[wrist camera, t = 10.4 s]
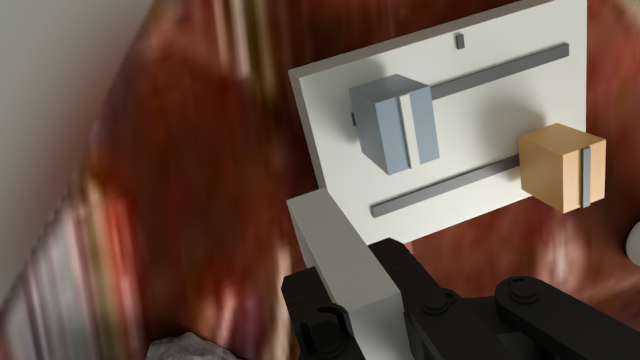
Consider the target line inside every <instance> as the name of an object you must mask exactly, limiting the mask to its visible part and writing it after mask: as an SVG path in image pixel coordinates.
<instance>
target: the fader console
mask: <svg viewBox="0 0 640 360" xmlns="http://www.w3.org/2000/svg"><path fill="white" fill-rule="evenodd" d="M586 42H587V0H521V1H517V2H514V3H511V4H507V5H504V6H501V7H497V8H494V9H491V10H487V11H484V12H481V13H477V14H474V15H471V16H467V17H464V18H461V19H457V20H454V21H451V22H447V23H444V24H441V25H437V26H434V27H431V28H427V29H424V30H421V31H417V32H414V33H411V34H407V35H404V36H401V37H397V38H394V39H391V40H387V41H384V42H381V43H377V44H374V45H371V46H367V47H364V48H361V49H357V50H354V51H351V52H347V53H344V54H341V55H337V56H334V57H331V58H327V59H324V60H320V61H317V62H314V63H310V64H307V65H304V66H300V67H297V68H294V69H290V70H288V74H289V78H290V81H291V85H292V89H293V93H294V96H295V100H296V104H297V108H298V111H299V115H300V119H301V123H302V127H303V130H304V134H305V138H306V142H307V145H308V149H309V153H310V157H311V160H312V164H313V168H314V172H315V175H316V179H317V183H318V187H319V189H321V188H324V187H325V188H326V189H327V191H328V192H329V194H330V195H331V196H332V198H333V199H334V200H335V202H336V203H337V205H338V206H339V207H340V209H341V210H342V211H343V213H344V214H345V216H346V217H347V218H348V220H349V221H350V223H351V224H352V225H353V227H354V228H355V229H356V231H357V232H358V234H359V235H360V236H361V238H362V239H363V241H364V242H365V243H366V245H369V244H372V243H375V242H378V241H380V240H383V239H386V238H388V237H390V238H392V239H394V240H397V241H399V242H401V243H403V244H404V243H407V242H410V241H412V240H415V239H418V238H420V237H423V236H426V235H428V234H431V233H433V232H436V231H439V230H441V229H444V228H447V227H449V226H452V225H455V224H457V223H460V222H463V221H465V220H468V219H471V218H473V217H476V216H479V215H481V214H484V213H487V212H489V211H492V210H495V209H497V208H500V207H503V206H505V205H508V204H511V203H513V202H516V201H519V200H521V199H524V198H527V197H529V196H532V195H530V194H529V193H527V192H525V191H523V190H522V189H521V177H520V160H519V142H518V136H521V135H524V134H527V133H530V132H532V131H535V130H538V129H541V128H544V127H547V126H549V125H552V124H555V123H559V124H562V125H565V126H568V127H571V128H574V129H577V130H580V131H583V132H586ZM394 74H399V75H402V76H404V77H407V78H410V79H413V80H415V81H418V82H421V83H424V84H426V85H429V86H430V89H431V97H432V104H433V111H434V119H435V126H436V133H437V141H438V148H439V155H440V158H438V159H435V160H432V161H429V162H427V163H424V164H421V165H420V167H418V168H415V169H411V168H409V169H406V170H404V171H401V172H398V173H395V174H392V175H387V174H386V173H385V172H384V171H383V170H382V169H380V168H379V167H378V166H377V165H376V164H375V163H373V162H372V161H371V160H370V159H369V158H368V157H367V156H365V155H364V154H363V153H362V150H361V146H360V141H359V136H358V132H357V127H356V122H355V118H354V113H353V108H352V103H351V99H350V94H349V88H352V87H355V86H359V85H362V84H365V83H368V82H371V81H375V80H378V79H381V78H384V77H387V76H391V75H394Z"/></svg>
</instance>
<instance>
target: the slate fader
mask: <svg viewBox="0 0 640 360" xmlns="http://www.w3.org/2000/svg"><path fill="white" fill-rule="evenodd" d="M349 94H350V99H351V103H352V108H353V113H354V118H355V122H356V127H357V132H358V136H359V141H360V146H361V150H362V153H363V154H364V155H365V156H367V157H368V158H369V159H370V160H371V161H372V162H373V163H375V164H376V165H377V166H378V167H379V168H380V169H382V170H383V171H384V172H385V173H386V174H387V175H392V174H395V173H398V172H401V171H404V170H406V169H409V168H411V169H415V168H418V167H420V165H421V164H424V163H427V162H429V161H432V160H435V159H438V158H440V155H439V148H438V141H437V133H436V126H435V119H434V111H433V104H432V97H431V89H430V86H429V85H426V84H424V83H421V82H418V81H415V80H413V79H410V78H407V77H404V76H402V75H399V74H394V75H391V76H387V77H384V78H381V79H378V80H375V81H371V82H368V83H365V84H362V85H359V86H355V87H352V88H349Z"/></svg>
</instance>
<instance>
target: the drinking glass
mask: <svg viewBox="0 0 640 360" xmlns="http://www.w3.org/2000/svg"><path fill="white" fill-rule="evenodd" d="M626 253H627V256H628V258H629V259H630V260H631V261H632V262H633V263H635V264H636V265H638V266H639V267H640V221H639V222H638V223H637V224H636V225H635V226H634V227H633V229H632V230H631V232H630V233H629V236H628V238H627V241H626Z"/></svg>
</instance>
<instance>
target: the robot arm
mask: <svg viewBox="0 0 640 360" xmlns="http://www.w3.org/2000/svg"><path fill="white" fill-rule="evenodd" d="M286 202H287V205H288V209H289V212H290V215H291V218H292V222H293V225H294V228H295V232H296V235H297V238H298V242H299V245H300V248H301V252H302V255H303V258H304V261H305V264H306V266H307V269H304V270H302V271H299V272H296V273H293V274H291V275H288V276H285V277H284V279H283V283H282V287H281V291H282V294H283V297H284V300H285V303H286V306H287V309H288V312H289V315H290V318H291V321H292V324H293V327H294V330H295V334H296V337H297V340H298V343H299V346H300V356H299V359H298V360H414V359H415V360H640V332H639V331H637V330H635V329H633V328H631V327H629V326H627V325H625V324H623V323H621V322H620V321H618V320H616V319H614V318H612V317H610V316H608V315H606V314H604V313H603V312H601V311H599V310H597V309H595V308H593V307H591V306H589V305H587V304H585V303H584V302H582V301H580V300H578V299H576V298H574V297H572V296H570V295H568V294H566V293H565V292H563V291H561V290H559V289H557V288H555V287H553V286H551V285H549V284H548V283H546V282H544V281H542V280H539V279H536V278H533V277H527V276H516V277H510V278H508V279H505V280H503V281H501V282H500V283H499V284H498V285H497V286H496V290H495V296H488V297H480V298H461V297H460V296H459V295H458V294H457V293H455V292H454V291H452V290H449V289H446V288H441V287H440V286H439V285H438V284H437V283H436V281H435V280H434V279H433V278H432V277H431V276H430V274H429V273H428V272H427V271H426V270H425V269H424V268H423V266H422V265H421V264H420V263H419V262H418V261H417V260H416V258H415V257H414V256H413V255H412V254H411V253H410V251H409V250H408V249H407V248H406V247H405V246H404V244H403V243H401V242H399V241H397V240H394V239H392V238H390V237H388V238H386V239H383V240H380V241H378V242H375V243H372V244H369V245H366V243H365V242H364V241H363V239H362V238H361V236H360V235H359V234H358V232H357V231H356V229H355V228H354V227H353V225H352V224H351V223H350V221H349V220H348V218H347V217H346V216H345V214H344V213H343V211H342V210H341V209H340V207H339V206H338V205H337V203H336V202H335V200H334V199H333V198H332V196H331V195H330V194H329V192H328V191H327V189H326V188H325V187H324V188H321V189H318V190H315V191H313V192H310V193H307V194H304V195H301V196H298V197H295V198H292V199H289V200H286Z"/></svg>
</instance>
